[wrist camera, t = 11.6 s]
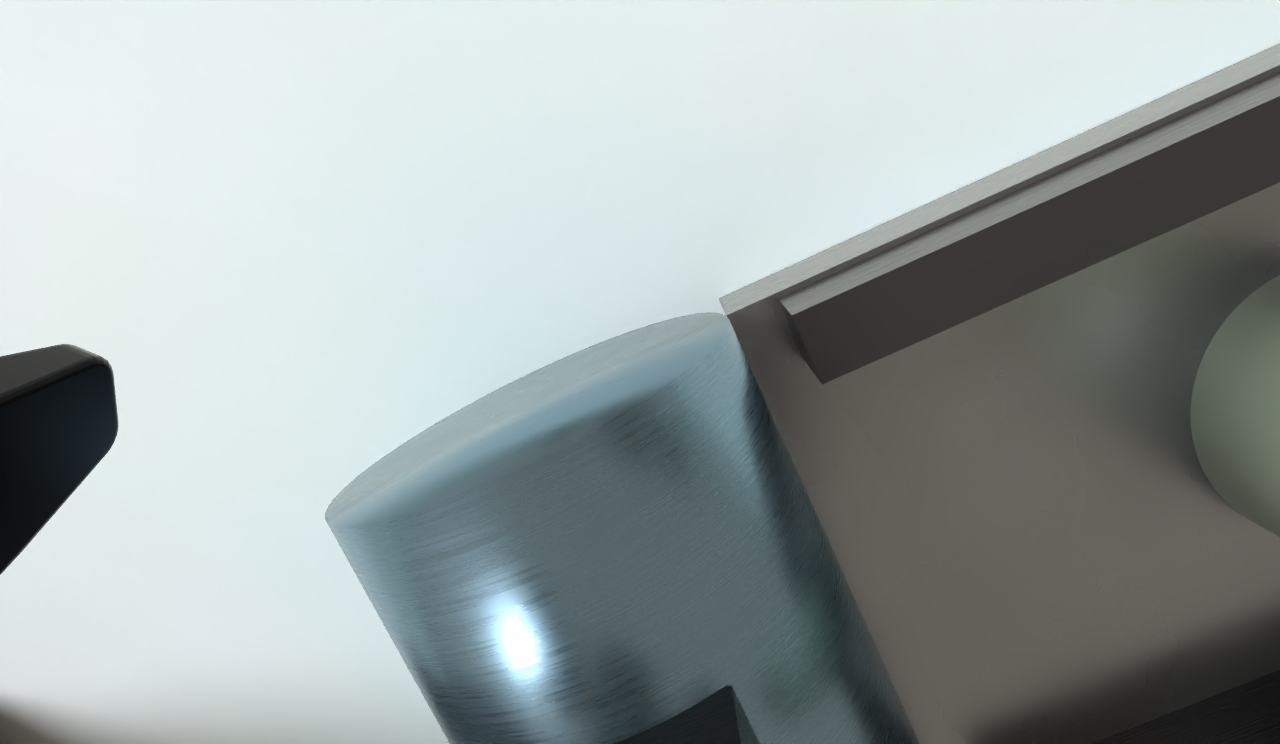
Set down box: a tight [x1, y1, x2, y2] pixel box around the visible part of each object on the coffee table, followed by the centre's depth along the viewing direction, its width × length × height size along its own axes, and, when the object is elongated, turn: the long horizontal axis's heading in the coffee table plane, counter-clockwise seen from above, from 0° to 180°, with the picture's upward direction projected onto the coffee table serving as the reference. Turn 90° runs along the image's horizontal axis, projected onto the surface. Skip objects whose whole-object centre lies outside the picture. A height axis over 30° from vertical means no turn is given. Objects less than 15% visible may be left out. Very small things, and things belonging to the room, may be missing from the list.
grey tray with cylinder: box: [325, 44, 1280, 744], centre depth 16 cm, size 25×12×8 cm, turn 115°
